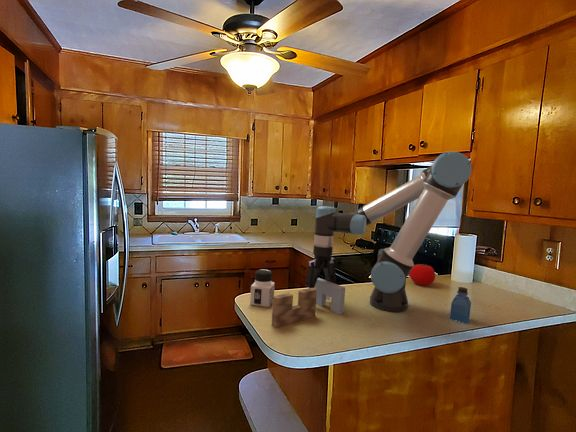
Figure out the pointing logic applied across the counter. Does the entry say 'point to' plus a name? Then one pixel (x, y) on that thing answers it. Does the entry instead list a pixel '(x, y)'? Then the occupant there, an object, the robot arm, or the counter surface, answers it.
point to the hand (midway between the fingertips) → (319, 300)
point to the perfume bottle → (461, 306)
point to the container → (262, 289)
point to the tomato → (422, 274)
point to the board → (293, 307)
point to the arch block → (330, 295)
